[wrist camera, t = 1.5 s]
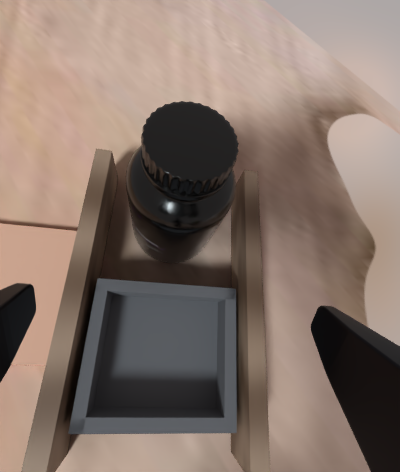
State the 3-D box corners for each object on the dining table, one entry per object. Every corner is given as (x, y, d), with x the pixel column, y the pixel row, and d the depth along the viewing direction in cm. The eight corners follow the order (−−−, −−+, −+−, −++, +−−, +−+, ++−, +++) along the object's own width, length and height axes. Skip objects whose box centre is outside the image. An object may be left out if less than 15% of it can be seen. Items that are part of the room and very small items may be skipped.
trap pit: (224, 418, 19) (236, 433, 16) (81, 418, 18) (68, 434, 15) (225, 294, 22) (235, 288, 19) (104, 285, 21) (97, 278, 18)
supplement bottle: (123, 254, 22) (93, 174, 11) (146, 187, 24) (140, 67, 13) (201, 274, 22) (248, 216, 11) (215, 206, 25) (265, 106, 14)
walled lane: (247, 451, 18) (270, 480, 15) (47, 454, 17) (17, 489, 13) (242, 194, 26) (257, 171, 22) (104, 176, 24) (96, 148, 20)
